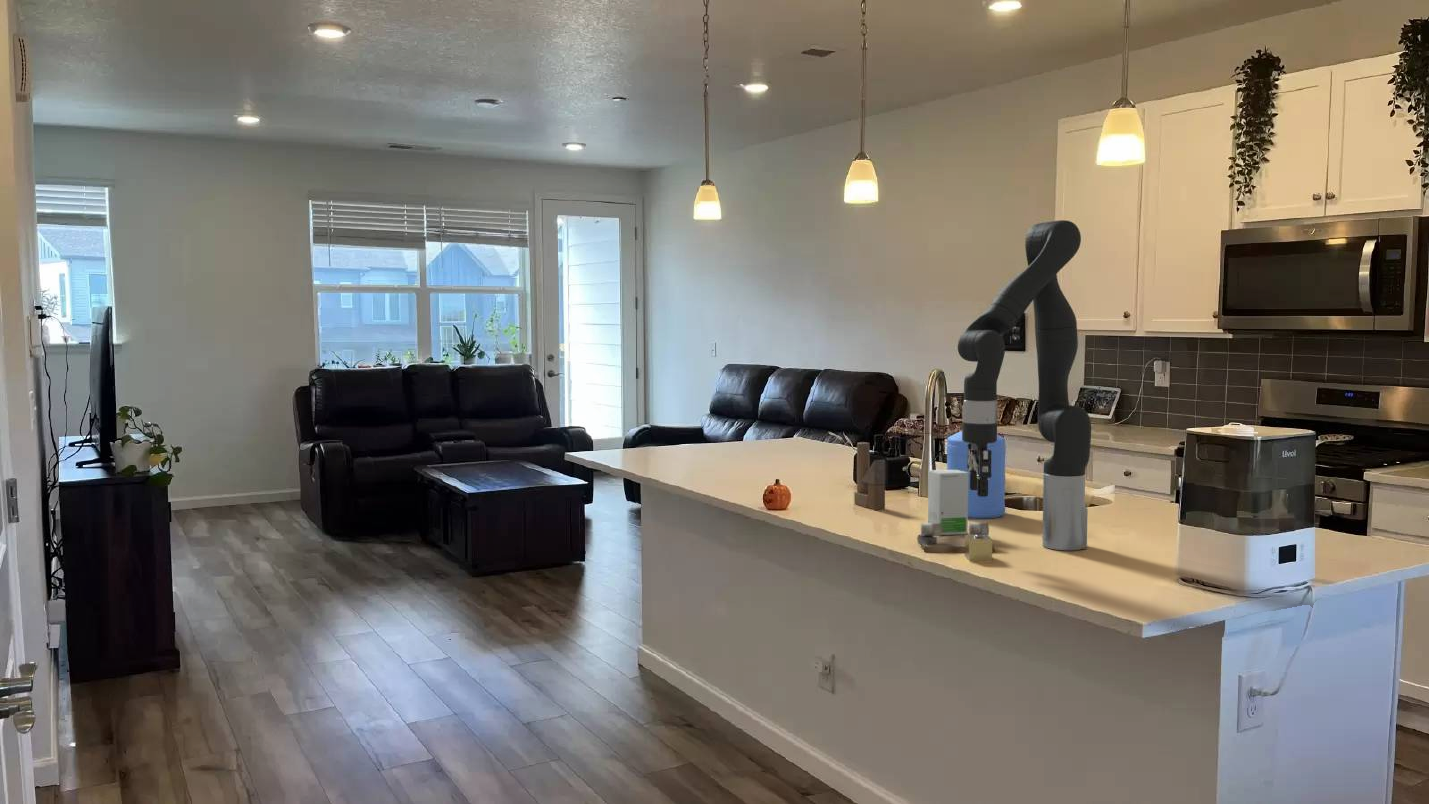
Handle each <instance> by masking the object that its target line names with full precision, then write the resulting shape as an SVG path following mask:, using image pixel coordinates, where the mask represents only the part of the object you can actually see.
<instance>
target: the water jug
mask: <svg viewBox="0 0 1429 804" xmlns="http://www.w3.org/2000/svg"><path fill="white" fill-rule="evenodd" d="M987 449H988V450H991V452H992V454H991V474H992V476H991V478H989V479H988V496H986V497H979V496H978V495H977V490H971V489H970V474H971V473H969V471H968V468H967V461H968V442H964V441H963V440H962V430H960V431H959V432H958V431H957V432H956V433H954V434H952V435H950V436H948V437H947V439H946V470H960V471H964V472H968V519H973V520H974V519H975V520H976V519H977V520H982V519H983V520H987V519H995V518H1001V517H1002V516H1004V515H1005V513H1006V505H1005V501H1006V500H1005V497H1006V496H1005V493H1006V492H1005V489H1006V488H1005V486H1006V452H1007V446H1006V439H1005V438H1004V436H1001V435H999V434H997V441H996V442H994V443H988V444H987ZM982 472H985V471H982Z"/></svg>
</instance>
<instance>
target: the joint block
mask: <svg viewBox="0 0 1429 804" xmlns="http://www.w3.org/2000/svg"><path fill="white" fill-rule="evenodd" d="M964 537H965V552H964V557H965V558H966V560H969V561H992V562H993V552H992V545H993V538H991V536H989V534H988V535H980V534H976V535H970V534H964ZM969 561H968V562H969Z"/></svg>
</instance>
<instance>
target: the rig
mask: <svg viewBox="0 0 1429 804" xmlns="http://www.w3.org/2000/svg"><path fill="white" fill-rule="evenodd" d="M968 531H969V532H968V533H969V534H968V535H976V534H980V535H988V536H989V535H990V534H989V533H990V526H989V523H988V522H969V524H968ZM916 539H917V541H918V542H917V544H918V545H919V544H920V545H921V546H920V545H919V546H920V548H921V547H922V548H921V549H922V551H923V550H924V551H923V552H924V553H965V536H943V535H942V524H941V523H928V522H927V523H925V522H924V523H923V522H921V523H920V534H918V535H917V538H916ZM995 552H996V551H995V545H994V544H992V553H995Z"/></svg>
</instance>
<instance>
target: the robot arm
mask: <svg viewBox="0 0 1429 804" xmlns="http://www.w3.org/2000/svg"><path fill="white" fill-rule="evenodd" d="M1081 242H1082V235H1081V232H1080V229H1079V227H1078V226H1077V225H1076V224H1075V223H1074V222H1072V221H1071V220H1067V219H1066V220H1062V219H1061V220H1053V221H1046V222H1040V223H1035V224H1033V225H1032V226H1031V227H1030V228H1029V229H1028V230H1027V232H1026V235H1025V245H1024V246H1025V247H1024V248H1025V256H1026V261H1027V262H1026V263H1027V267H1026V268H1025V269H1024V270H1023V271H1021V272H1020V273H1018V275H1016V276H1015V277H1014V278H1013V279H1011V280H1010V281H1009V282H1008V283H1006V285H1004V286H1003V287H1002V289H1001V290H1000V291H999V292H998V294H997V295H996V296H995V298H994V299H993V301H992V302H991V303H990V305H989V306H988V307H987V309H986V310H985V311H984V313H982V314H981V315H979V316H978V317H977V318H976V319H975V320H974V321H973V322H972V323H971V324H969V325H968V326H967V327H966V328H965V329H964V331H962V333H961V335H960V337H959V340H958V342H957V351H958V355H959V356H960V358H962V360H965V361H967V362H974V363H976V367H975V370H974V372H971V373H968V374H966V375H965V377H964V379H963V380H964V381H963V404H962V409H961V410H962V414H961V415H962V417H961V418H962V421H961V425H962V427H961V431H962V440H963V441H964V442H968V461H967V468H968V471H969V473H971V474H970V489H971V490H977V495H978V496H979V497H986V496H988V479H989V478H991V476H992V474H991V454H992V452H991V450H988V449H987V444H988V443H994V442H996V441H997V435H998V404H997V403H998V402H997V397H998V395H997V393H998V391H997V390H998V389H997V388H998V387H997V386H998V385H997V384H998V382H997V381H998V379H999V376H1000V372H1001V368H1002V367H1003V366H1002V365H1003V362H1004V358H1005V352H1006V345H1005V340H1004V339H1003V336H1002V335H1001V334H1006V333H1009V332H1010V331H1011V330H1013V329H1014V328H1015V326H1016V325H1017V324H1018V322H1019V320H1020V319H1021V318H1022V316H1023V315H1024V313H1025V312H1026V310H1027V309H1028V308H1029V306H1030V305H1031V303H1032V304H1033V305H1032V306H1033V315H1034V334H1035V336H1034V338H1035V347H1036V356H1037V357H1036V359H1037V376H1038V399H1037V402H1038V403H1037V426H1038V431H1039V433H1040V435H1041V436H1042V437H1043V439H1045V440H1046V441H1048V442H1050V443H1054V445H1053V453H1052V456H1051V457H1050V458H1047V459H1045V461H1044V463H1043V485H1042V486H1043V487H1042V489H1043V490H1042V491H1043V492H1042V493H1043V494H1042V497H1043V499H1042V546H1043V547H1044V548H1046V549H1047V548H1048V549H1050V550H1056V551H1077V550H1087V549H1088V512H1089V511H1088V507H1086V506H1085V505H1086V470H1087V465H1088V463H1089V460H1090V456H1091V454H1090V453H1091V443H1092V442H1091V439H1092V423H1091V418H1090V416H1089V413H1088V412H1087V411H1086V410H1085V409H1084V408H1082V407H1080V406H1076V405H1071V404H1070V402H1069V401H1070V400H1069V389H1068V385H1069V384H1068V383H1069V375H1070V373H1071V370H1072V367H1073V365H1074V363H1075V359H1076V356H1077V353H1078V348H1079V339H1078V338H1079V337H1078V327H1077V326H1078V323H1077V317H1076V314H1075V312H1074V311H1073V308H1072V306H1071V305H1070V303H1069V301H1068V300H1067V298H1066V297H1065V295H1064V293H1063V291H1062V289H1061V286H1060V284H1059V280H1058V273H1059V272H1060V271H1061V270H1062V269H1063V268H1064V267H1065V266H1066V265H1068V263H1069V262H1070V261H1071V260H1072V259H1073V258H1074V256H1075V255H1076V254H1077V253H1078V251H1079V249H1080V246H1081ZM982 471H985V472H982Z"/></svg>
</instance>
